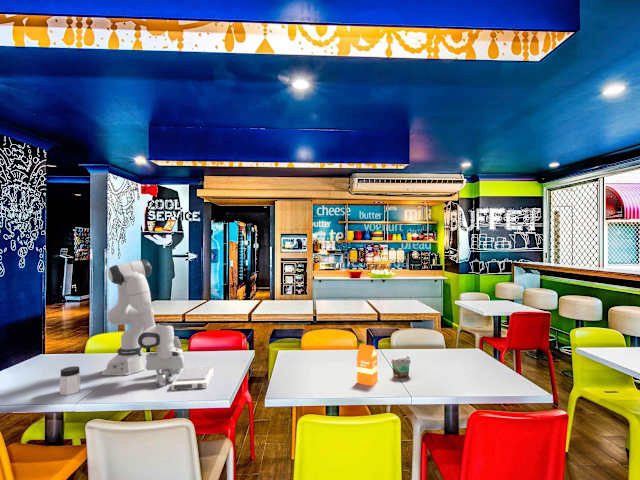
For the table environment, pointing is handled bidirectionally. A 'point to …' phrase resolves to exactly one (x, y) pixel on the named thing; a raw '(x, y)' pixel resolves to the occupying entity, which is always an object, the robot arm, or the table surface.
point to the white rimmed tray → (193, 378)
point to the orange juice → (366, 365)
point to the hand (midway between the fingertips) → (165, 376)
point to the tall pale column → (177, 345)
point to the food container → (401, 367)
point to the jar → (69, 380)
